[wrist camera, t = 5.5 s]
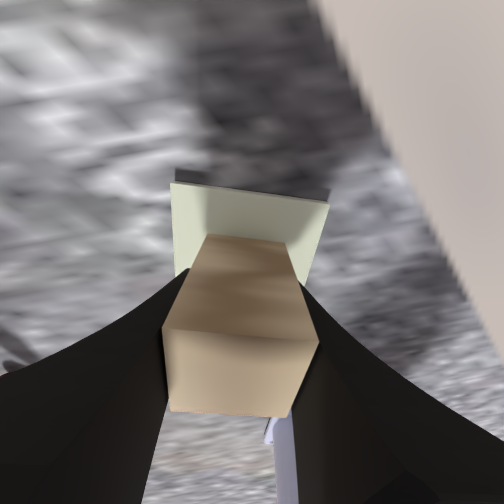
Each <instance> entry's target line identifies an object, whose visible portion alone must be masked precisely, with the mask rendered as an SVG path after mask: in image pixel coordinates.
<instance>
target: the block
mask: <svg viewBox="0 0 504 504" xmlns="http://www.w3.org/2000/svg"><path fill="white" fill-rule="evenodd" d="M162 336H163V346H164V355H165V365H166V375H167V384H168V394H169V403H170V411H176V412H193V413H210V414H227V415H244V416H260V417H277V418H287V415H288V413H289V411H290V408H291V406H292V404H293V402H294V399H295V397H296V395H297V392H298V390H299V388H300V385H301V383H302V381H303V378H304V376H305V374H306V371H307V369H308V367H309V364H310V362H311V360H312V358H313V355H314V353H315V351H316V348H317V346H318V344H319V340H318V337H317V334H316V331H315V328H314V325H313V322H312V320H311V317H310V314H309V311H308V308H307V305H306V302H305V300H304V297H303V294H302V291H301V288H300V285H299V282H298V280H297V277H296V274H295V271H294V268H293V265H292V262H291V260H290V257H289V254H288V251H287V248H286V245H285V243H283V242H275V241H266V240H258V239H250V238H242V237H233V236H225V235H217V234H208V233H207V235H206V237H205V240H204V242H203V244H202V246H201V248H200V250H199V252H198V254H197V256H196V258H195V260H194V262H193V264H192V266H191V268H190V271H189V273H188V275H187V277H186V279H185V281H184V283H183V285H182V287H181V289H180V291H179V293H178V295H177V297H176V299H175V302H174V304H173V306H172V308H171V310H170V312H169V314H168V316H167V318H166V320H165V322H164V324H163V326H162Z"/></svg>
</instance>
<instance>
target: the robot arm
mask: <svg viewBox="0 0 504 504" xmlns="http://www.w3.org/2000/svg"><path fill="white" fill-rule="evenodd" d="M189 271H190V268H186V269H185V270H184V271H182V272H181V273H180V274H179V275H178V276H176V277H175V278H174V279H173V280H172V281H171V282H169V283H168V284H167V285H166V286H164V287H163V288H162V289H161V290H159V291H158V292H157V293H155V294H154V295H153V296H152V297H150V298H149V299H147V300H146V301H145V302H143V303H142V304H140V305H139V306H138V307H136V308H135V309H133V310H132V311H130V312H129V313H127V314H126V315H124V316H123V317H121V318H119V319H118V320H116V321H114V322H113V323H111V324H109V325H108V326H106V327H104V328H103V329H101V330H99V331H97V332H95V333H93V334H91V335H90V336H88V337H86V338H84V339H82V340H80V341H78V342H76V343H75V344H73V345H71V346H69V347H67V348H65V349H63V350H61V351H59V352H57V353H55V354H53V355H51V356H49V357H47V358H44V359H42V360H40V361H38V362H36V363H34V364H32V365H29V366H27V367H25V368H23V369H21V370H18V371H16V372H14V373H12V374H9V375H7V376H5V377H3V378H0V504H141V502H142V498H143V494H144V490H145V486H146V482H147V478H148V474H149V470H150V466H151V462H152V458H153V454H154V451H155V447H156V443H157V439H158V436H159V432H160V428H161V424H162V421H163V417H164V413H165V410H166V406H167V403H168V399H169V394H168V384H167V375H166V365H165V355H164V346H163V336H162V326H163V324H164V322H165V320H166V318H167V316H168V314H169V312H170V310H171V308H172V306H173V304H174V302H175V299H176V297H177V295H178V293H179V291H180V289H181V287H182V285H183V283H184V281H185V279H186V277H187V275H188V273H189ZM298 282H299V281H298ZM299 285H300V288H301V291H302V294H303V297H304V300H305V302H306V305H307V308H308V311H309V314H310V317H311V320H312V322H313V325H314V328H315V331H316V334H317V337H318V340H319V344H318V346H317V348H316V351H315V353H314V355H313V358H312V360H311V362H310V364H309V367H308V369H307V371H306V374H305V376H304V378H303V381H302V383H301V385H300V388H299V390H298V392H297V395H296V397H295V399H294V402H293V404H292V406H291V408H290V411H289V413H288V415H287V418H277V417H271V418H270V421H269V424H268V427H267V429H266V432H265V435H264V443H266V444H273V450H274V463H275V476H276V490H277V503H278V504H504V441H502V440H500V439H499V438H497V437H496V436H494V435H492V434H491V433H489V432H487V431H486V430H484V429H482V428H481V427H479V426H478V425H476V424H474V423H473V422H471V421H469V420H468V419H466V418H464V417H463V416H461V415H460V414H458V413H456V412H455V411H453V410H451V409H450V408H448V407H447V406H445V405H444V404H442V403H441V402H439V401H438V400H436V399H435V398H433V397H432V396H430V395H429V394H427V393H426V392H424V391H423V390H421V389H420V388H418V387H417V386H415V385H414V384H413V383H411V382H410V381H408V380H407V379H405V378H404V377H403V376H401V375H400V374H399V373H397V372H396V371H395V370H393V369H392V368H391V367H389V366H388V365H387V364H385V363H384V362H383V361H381V360H380V359H379V358H377V357H376V356H375V355H374V354H372V353H371V352H370V351H369V350H368V349H366V348H365V347H364V346H363V345H362V344H360V343H359V342H358V341H357V340H356V339H355V338H353V337H352V336H351V335H350V334H349V333H348V332H347V331H346V330H345V329H344V328H343V327H342V326H341V325H340V324H338V323H337V322H336V321H335V320H334V319H333V318H332V317H331V316H330V315H329V314H328V313H327V311H326V310H325V309H324V308H323V307H322V306H321V305H320V304H319V303H318V302H317V301H316V300H315V299H314V297H313V296H312V295H311V294H310V293H309V292H308V291H307V289H306V288H305V287H304V286H303V285H302V284H301V283H300V282H299Z"/></svg>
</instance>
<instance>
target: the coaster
mask: <svg viewBox="0 0 504 504" xmlns="http://www.w3.org/2000/svg"><path fill="white" fill-rule="evenodd" d="M170 189H171V207H172V226H173V244H174V262H175V277H176V276H178V275H179V274H180V273H181V272H182V271H184V270H185V269H186V268H191V266H192V264H193V262H194V260H195V258H196V256H197V254H198V252H199V250H200V248H201V246H202V244H203V242H204V240H205V237H206V235H207V233H208V234H217V235H225V236H233V237H242V238H250V239H258V240H266V241H275V242H283V243H285V245H286V248H287V251H288V254H289V257H290V260H291V262H292V265H293V268H294V271H295V274H296V277H297V280H298V281H299V282H300V283H301V284H302V285H303V286H305V283H306V279H307V276H308V273H309V270H310V267H311V264H312V261H313V257H314V254H315V251H316V248H317V245H318V242H319V238H320V235H321V232H322V229H323V226H324V223H325V220H326V216H327V213H328V210H329V207H330V204H329V203H328V202H326V201H319V200H312V199H304V198H297V197H290V196H282V195H275V194H267V193H260V192H253V191H245V190H238V189H230V188H223V187H216V186H208V185H201V184H194V183H186V182H179V181H173V182H171V183H170Z"/></svg>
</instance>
